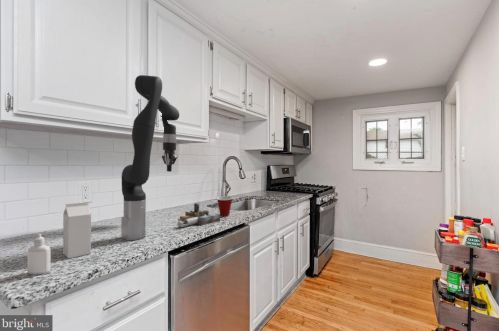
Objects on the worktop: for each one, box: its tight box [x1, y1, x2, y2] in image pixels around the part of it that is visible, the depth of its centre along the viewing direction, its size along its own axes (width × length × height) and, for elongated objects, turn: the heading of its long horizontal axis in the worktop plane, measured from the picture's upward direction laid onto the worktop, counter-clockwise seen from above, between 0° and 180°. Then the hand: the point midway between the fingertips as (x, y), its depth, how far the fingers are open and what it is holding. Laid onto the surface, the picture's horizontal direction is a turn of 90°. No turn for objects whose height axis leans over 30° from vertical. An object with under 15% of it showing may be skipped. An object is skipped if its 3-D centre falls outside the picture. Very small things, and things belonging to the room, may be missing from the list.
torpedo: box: [176, 217, 198, 228], centre depth 139 cm, size 18×5×7 cm, turn 146°
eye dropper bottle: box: [26, 233, 51, 275], centre depth 78 cm, size 4×6×12 cm
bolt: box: [193, 202, 206, 216], centre depth 151 cm, size 3×10×7 cm, turn 52°
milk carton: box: [62, 201, 92, 259], centre depth 94 cm, size 7×7×19 cm
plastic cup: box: [216, 195, 234, 217], centre depth 166 cm, size 11×11×12 cm
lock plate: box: [179, 209, 221, 226], centre depth 151 cm, size 14×21×6 cm, turn 52°
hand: (169, 171), depth 150 cm, fingers closed
